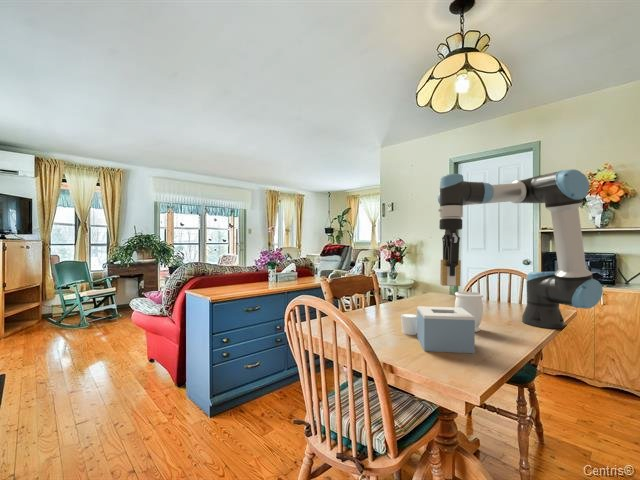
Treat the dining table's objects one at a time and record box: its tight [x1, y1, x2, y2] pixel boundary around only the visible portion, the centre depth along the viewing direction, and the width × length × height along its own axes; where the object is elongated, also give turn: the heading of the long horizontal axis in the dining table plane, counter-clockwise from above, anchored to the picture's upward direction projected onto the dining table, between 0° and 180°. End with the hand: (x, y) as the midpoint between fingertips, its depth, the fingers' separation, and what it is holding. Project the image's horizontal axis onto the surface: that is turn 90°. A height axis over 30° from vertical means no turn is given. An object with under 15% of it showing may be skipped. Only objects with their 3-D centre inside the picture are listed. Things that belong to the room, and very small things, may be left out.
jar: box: [454, 291, 484, 333], centre depth 129 cm, size 11×10×15 cm
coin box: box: [416, 305, 476, 354], centre depth 110 cm, size 16×14×12 cm
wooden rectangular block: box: [439, 259, 462, 287], centre depth 110 cm, size 6×3×9 cm, turn 82°
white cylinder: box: [400, 313, 417, 336], centre depth 124 cm, size 7×7×7 cm
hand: (449, 284), depth 110 cm, fingers closed on wooden rectangular block, 3 cm apart
